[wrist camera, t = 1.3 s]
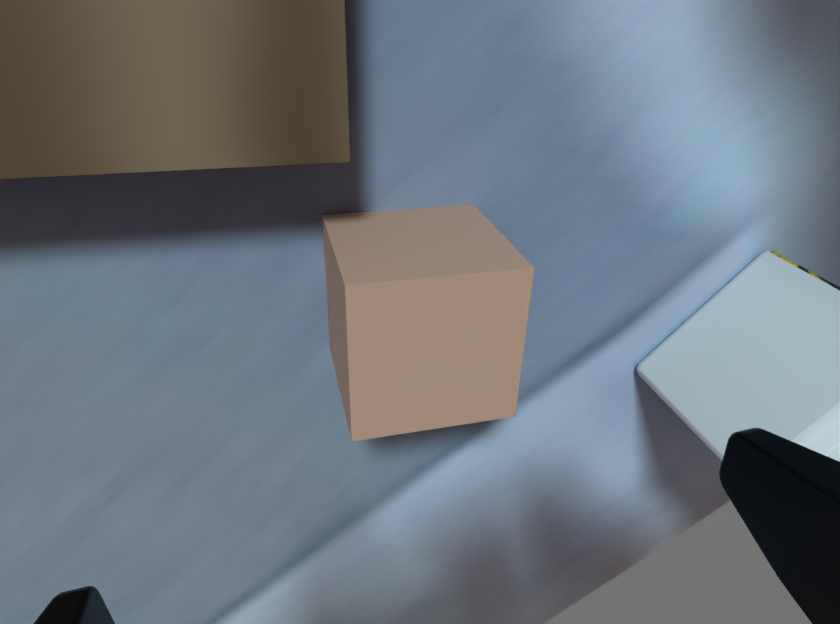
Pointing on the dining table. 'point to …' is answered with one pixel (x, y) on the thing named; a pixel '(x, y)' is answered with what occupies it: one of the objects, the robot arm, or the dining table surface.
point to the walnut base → (170, 85)
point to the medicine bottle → (757, 359)
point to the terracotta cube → (424, 318)
